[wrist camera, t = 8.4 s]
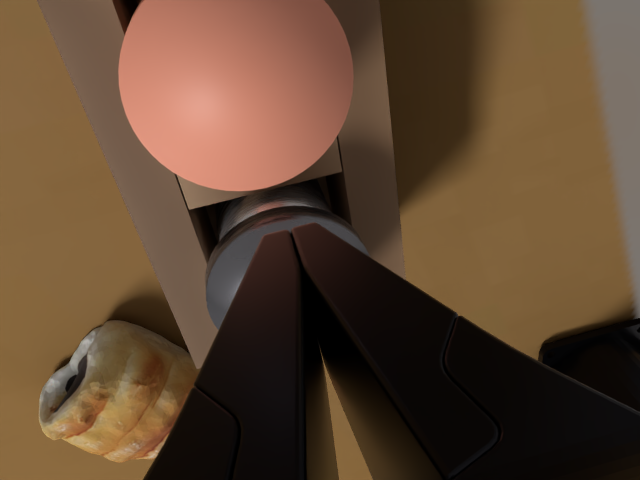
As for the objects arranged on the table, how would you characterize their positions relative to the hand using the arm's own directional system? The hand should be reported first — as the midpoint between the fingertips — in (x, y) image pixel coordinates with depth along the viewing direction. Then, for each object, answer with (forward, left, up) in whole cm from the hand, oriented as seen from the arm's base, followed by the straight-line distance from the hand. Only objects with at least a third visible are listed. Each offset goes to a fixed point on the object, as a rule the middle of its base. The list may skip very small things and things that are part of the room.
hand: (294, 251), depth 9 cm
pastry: (+8, +14, -13) cm, 21 cm away
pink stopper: (0, -1, -11) cm, 11 cm away
